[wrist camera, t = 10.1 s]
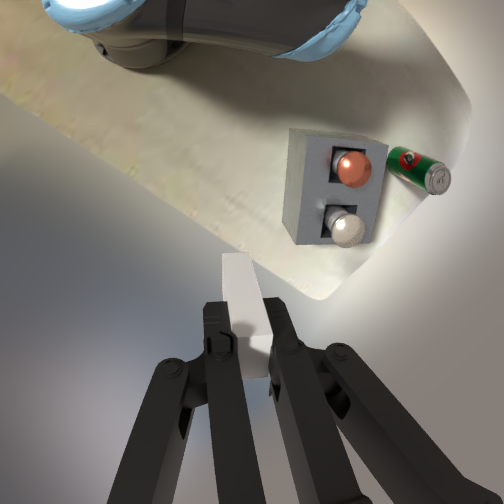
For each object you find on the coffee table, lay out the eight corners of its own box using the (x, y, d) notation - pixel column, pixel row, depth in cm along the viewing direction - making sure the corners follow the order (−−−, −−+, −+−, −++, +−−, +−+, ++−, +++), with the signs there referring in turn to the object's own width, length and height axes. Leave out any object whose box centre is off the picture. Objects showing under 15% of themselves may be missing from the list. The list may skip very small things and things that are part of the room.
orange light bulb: (318, 140, 41) (341, 151, 34) (347, 143, 42) (374, 154, 35) (315, 170, 43) (337, 187, 36) (343, 172, 44) (368, 188, 37)
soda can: (383, 172, 48) (425, 196, 37) (387, 144, 45) (432, 161, 35) (405, 174, 48) (448, 198, 38) (410, 147, 46) (455, 166, 35)
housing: (289, 128, 42) (307, 135, 35) (361, 135, 44) (388, 145, 37) (281, 221, 49) (295, 244, 42) (348, 221, 51) (370, 242, 44)
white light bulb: (315, 194, 44) (336, 215, 37) (343, 195, 45) (367, 216, 38) (311, 223, 46) (330, 248, 39) (338, 223, 47) (361, 247, 40)
